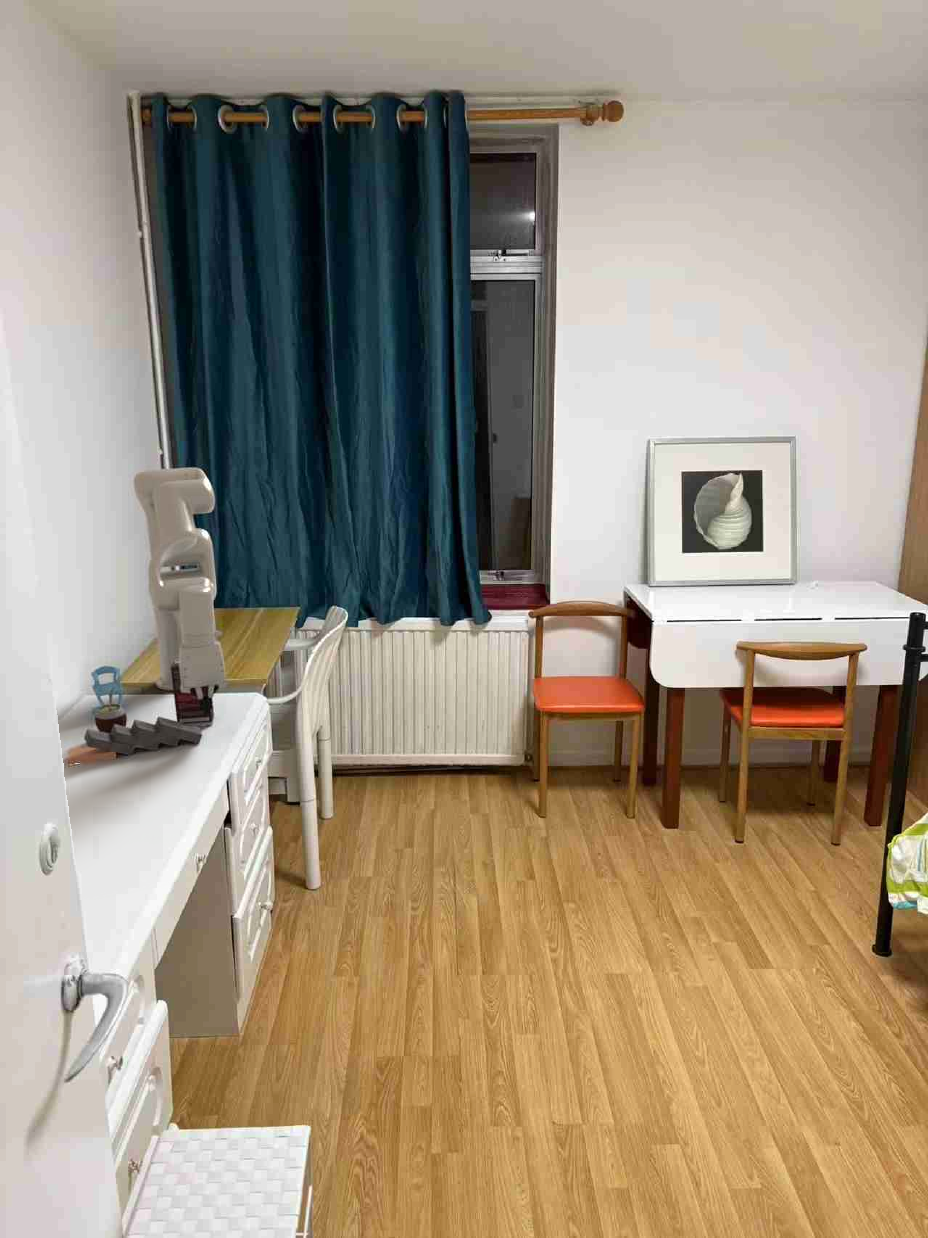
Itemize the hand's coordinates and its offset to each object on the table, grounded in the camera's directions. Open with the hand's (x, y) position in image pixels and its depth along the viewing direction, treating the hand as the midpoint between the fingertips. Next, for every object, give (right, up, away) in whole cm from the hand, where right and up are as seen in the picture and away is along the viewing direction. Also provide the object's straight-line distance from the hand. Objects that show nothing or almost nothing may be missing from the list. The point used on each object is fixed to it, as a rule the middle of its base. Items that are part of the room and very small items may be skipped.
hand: (206, 712), depth 227 cm
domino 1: (-16, -7, -5) cm, 18 cm away
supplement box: (-6, -4, +11) cm, 13 cm away
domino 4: (-2, -6, +1) cm, 6 cm away
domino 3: (-7, -6, -1) cm, 9 cm away
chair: (-29, -2, +17) cm, 34 cm away
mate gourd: (-22, -7, +1) cm, 23 cm away
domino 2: (-11, -7, -3) cm, 13 cm away
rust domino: (-19, -8, -6) cm, 22 cm away
